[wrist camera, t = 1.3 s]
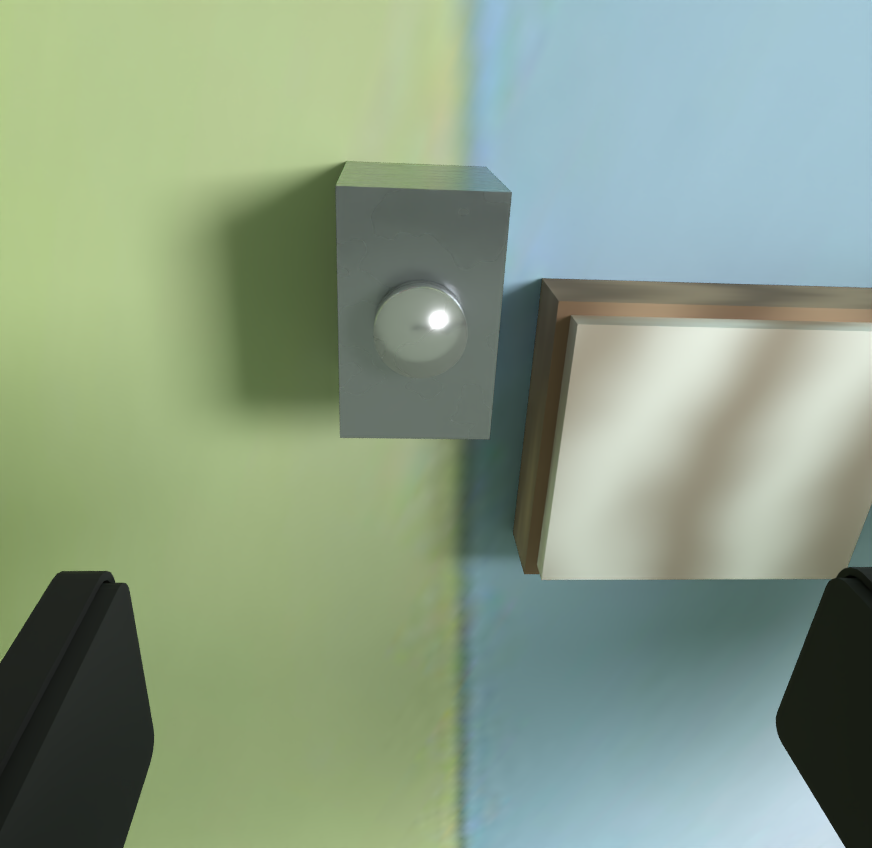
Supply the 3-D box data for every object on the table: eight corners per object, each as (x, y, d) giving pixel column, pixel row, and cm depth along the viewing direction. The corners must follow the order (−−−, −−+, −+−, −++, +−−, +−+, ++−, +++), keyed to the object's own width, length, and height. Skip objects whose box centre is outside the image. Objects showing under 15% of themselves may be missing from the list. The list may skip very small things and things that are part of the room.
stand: (884, 288, 28) (955, 319, 25) (801, 533, 34) (850, 588, 30) (542, 278, 27) (565, 309, 24) (512, 532, 33) (528, 589, 29)
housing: (485, 166, 25) (517, 198, 19) (471, 371, 29) (493, 453, 23) (346, 160, 25) (332, 191, 19) (349, 368, 29) (338, 452, 22)
